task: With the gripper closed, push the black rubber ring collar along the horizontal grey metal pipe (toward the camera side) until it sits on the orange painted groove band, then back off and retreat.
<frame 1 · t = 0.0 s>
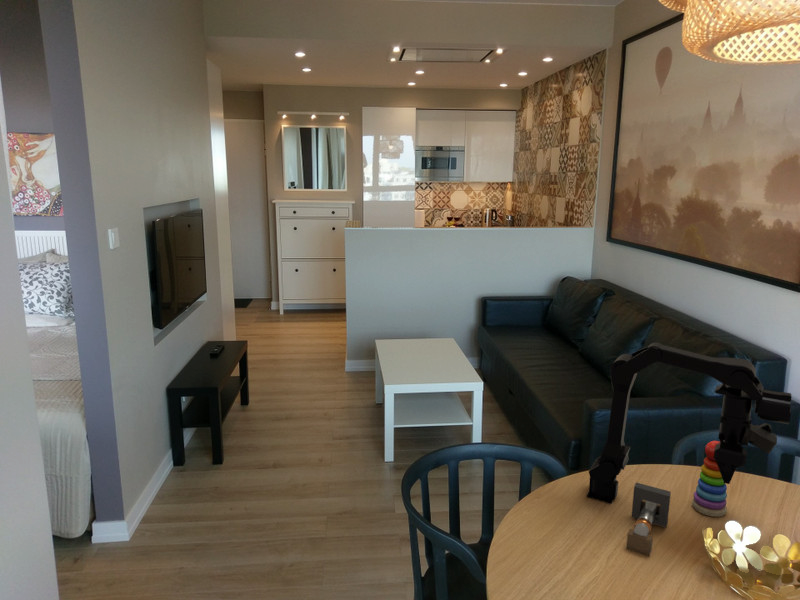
hand: (728, 474, 135), 15 cm above the table, fingers open, 9 cm apart
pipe: (645, 532, 137), on the table
stacking toy: (708, 510, 147), on the table
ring: (650, 504, 140), point 5 cm above the table, slide at 0.0 cm
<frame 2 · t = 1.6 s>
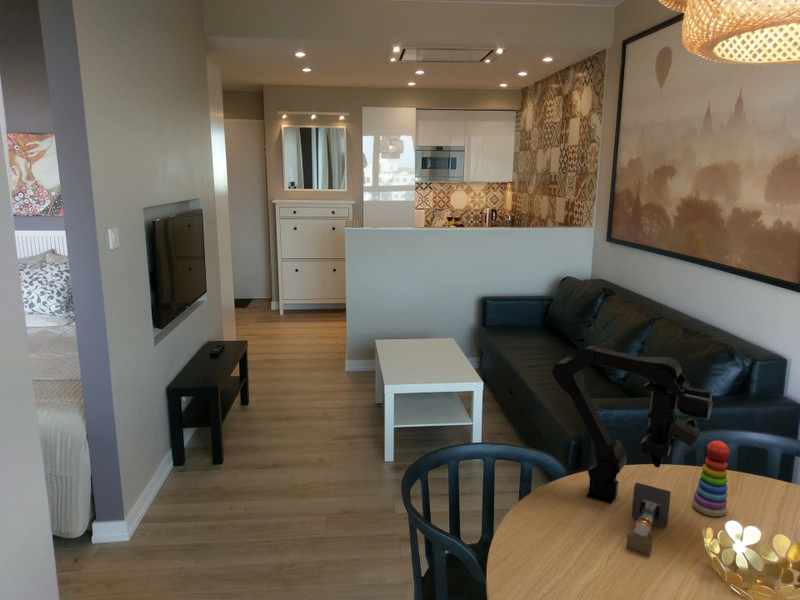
hand: (657, 466, 143), 13 cm above the table, fingers closed
nothing on the table moved.
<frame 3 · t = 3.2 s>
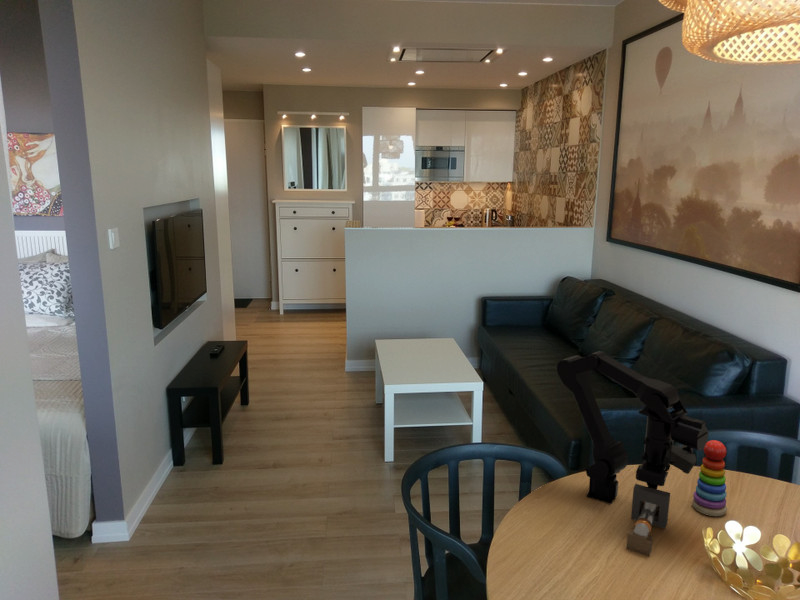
hand: (653, 492, 141), 7 cm above the table, fingers closed
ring: (650, 506, 140), point 5 cm above the table, slide at 0.7 cm, touching gripper
everything else where it was.
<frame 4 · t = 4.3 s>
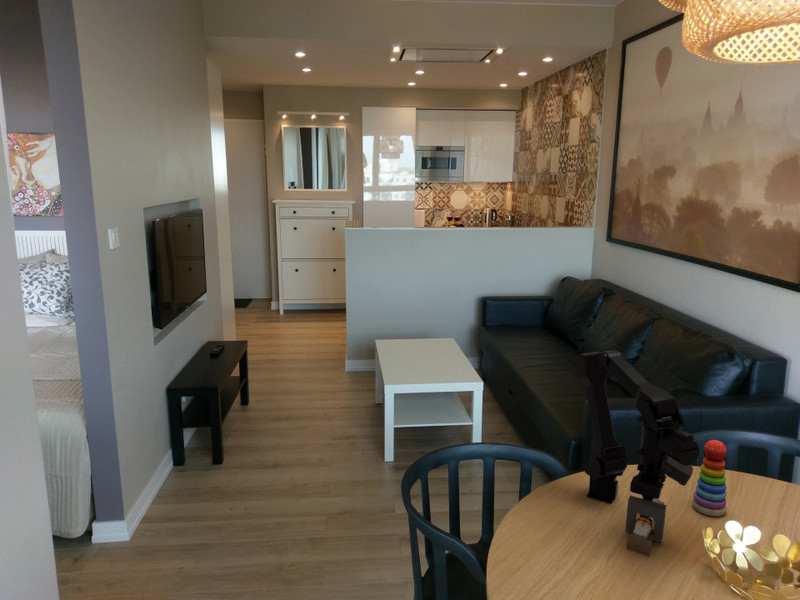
hand: (648, 504, 136), 7 cm above the table, fingers closed
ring: (645, 518, 135), point 5 cm above the table, slide at 7.0 cm, touching gripper
everything else where it was.
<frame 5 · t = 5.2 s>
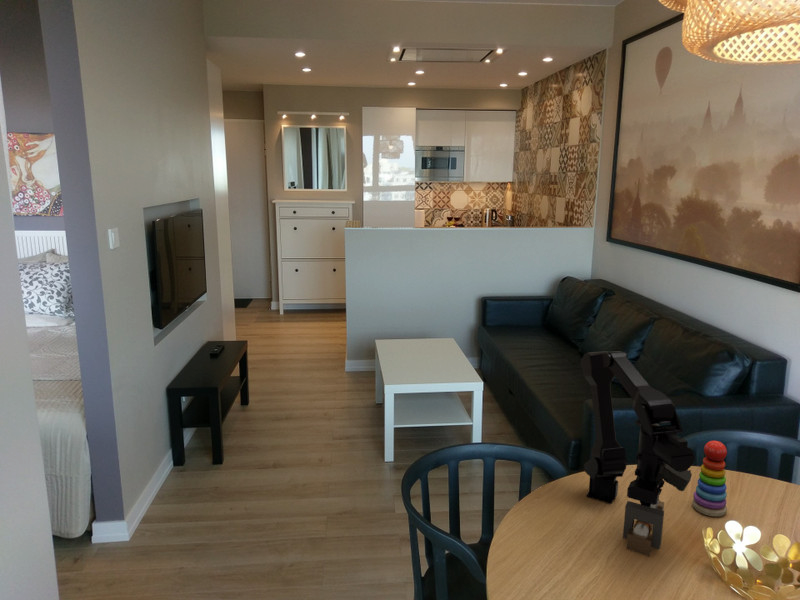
hand: (646, 510, 134), 7 cm above the table, fingers closed
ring: (643, 524, 132), point 5 cm above the table, slide at 9.8 cm, touching gripper
everything else where it was.
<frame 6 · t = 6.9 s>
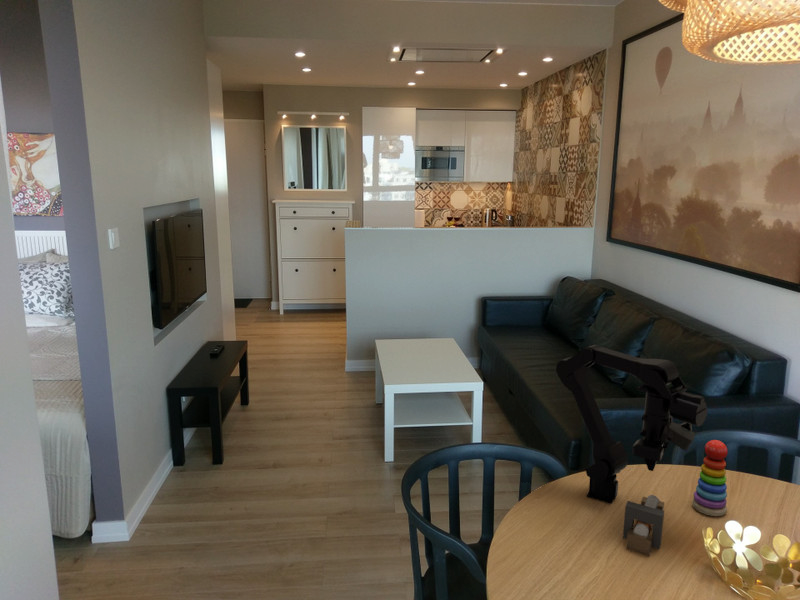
hand: (651, 470, 141), 13 cm above the table, fingers closed
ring: (643, 524, 132), point 5 cm above the table, slide at 9.8 cm
everything else where it was.
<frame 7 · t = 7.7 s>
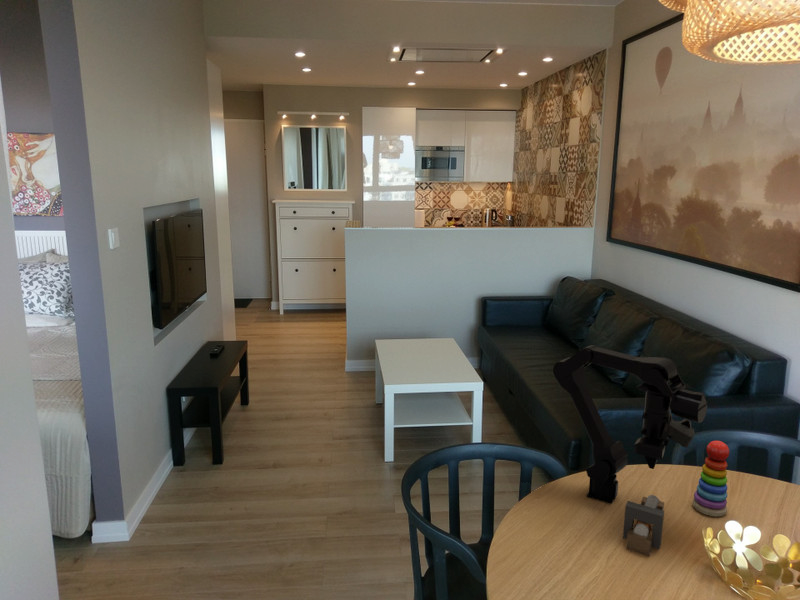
hand: (651, 468, 142), 13 cm above the table, fingers closed
nothing on the table moved.
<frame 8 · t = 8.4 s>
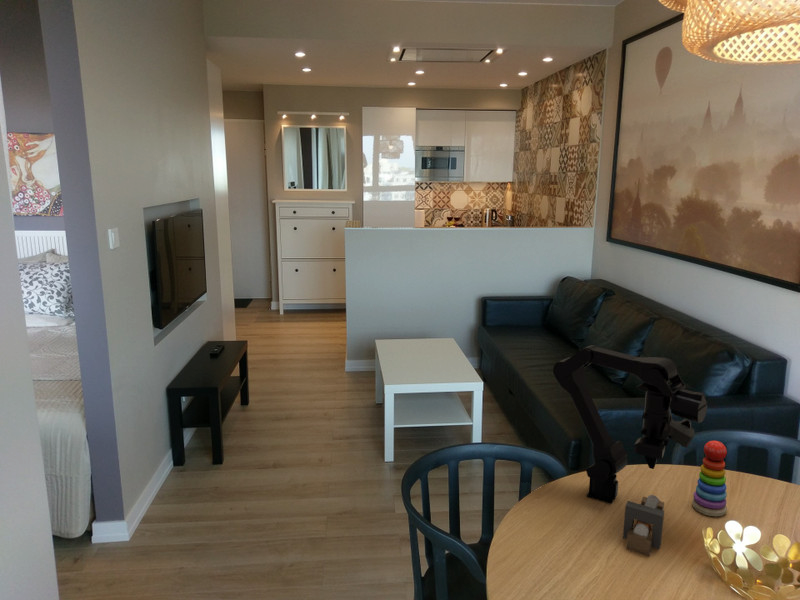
hand: (651, 468, 142), 13 cm above the table, fingers closed
nothing on the table moved.
at the end: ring slide at 9.8 cm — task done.
